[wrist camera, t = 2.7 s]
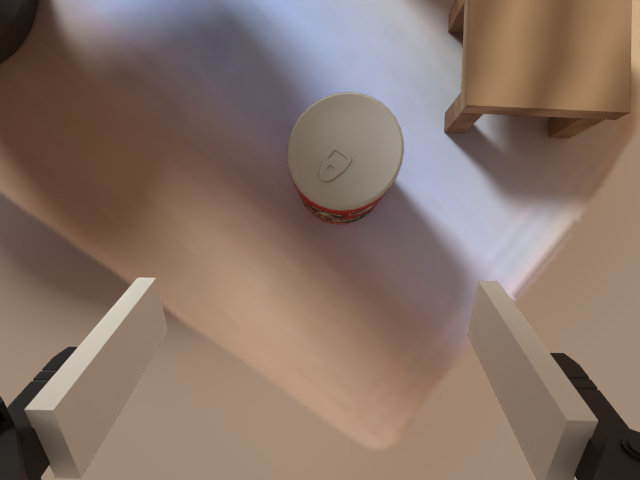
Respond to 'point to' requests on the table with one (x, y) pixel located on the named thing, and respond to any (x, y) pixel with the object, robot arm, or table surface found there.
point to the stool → (543, 61)
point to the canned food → (344, 156)
